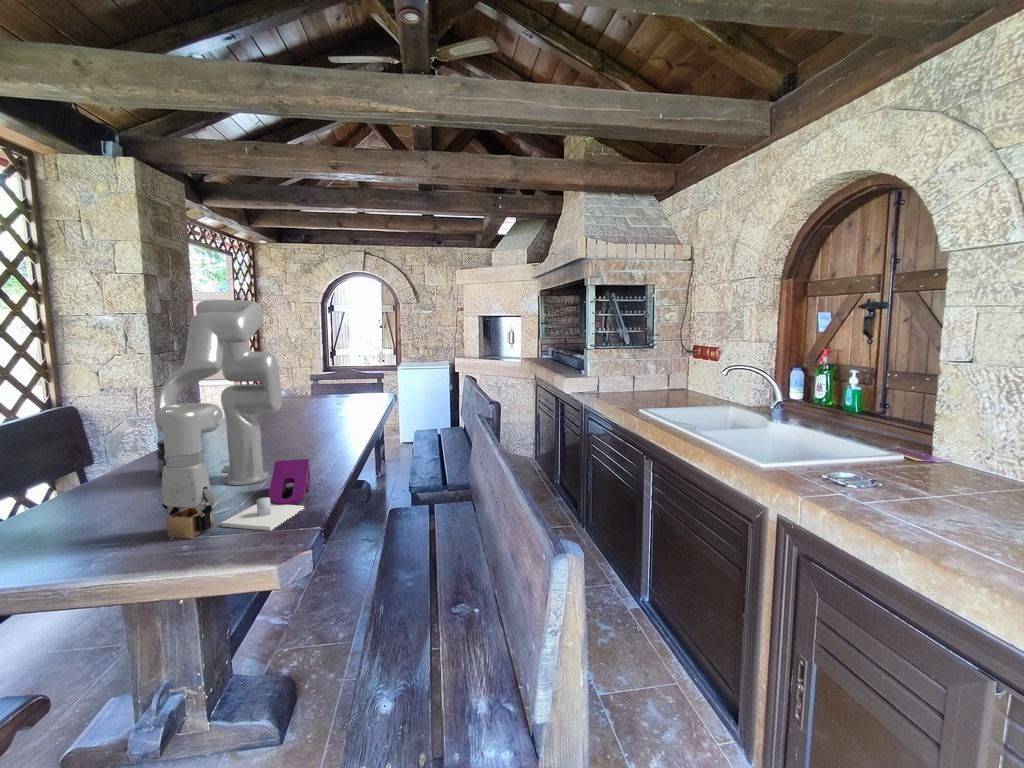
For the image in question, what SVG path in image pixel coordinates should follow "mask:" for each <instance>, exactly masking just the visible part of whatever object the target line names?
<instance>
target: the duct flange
mask: <svg viewBox="0 0 1024 768" xmlns="http://www.w3.org/2000/svg"><path fill="white" fill-rule="evenodd" d="M303 509H304V510H305V505H299V504H297V505H277V504H272V503H271V502H270V498H269V496H267V497H264V496H263V497H260V498H257V499H256V504H253V505H252V506H250V507H248V508H246V509H245V510H242V511H240V512H238V513H237V514H235V515H233V516H231V517H229V518H227V519H225V520H224V521H221V522H220V527H222V528H233V529H235V528H236V529H245V530H257V531H258V530H259V531H269V532H270V531H272V530H274V529H275V527H276V528H277V527H279V526H280V525H282V524H283V523H285V522H286V520H287V519H288V520H289V518H290V519H292V518H293V517H294V516H296V515H297V513H298V512H299V511H301V510H302V511H304V510H303ZM302 511H301V512H302ZM299 513H300V512H299ZM299 513H298V514H299ZM295 514H296V515H295ZM292 516H293V517H292ZM288 520H287V521H288ZM284 521H285V522H284ZM281 523H282V524H281ZM278 525H279V526H278Z"/></svg>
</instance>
